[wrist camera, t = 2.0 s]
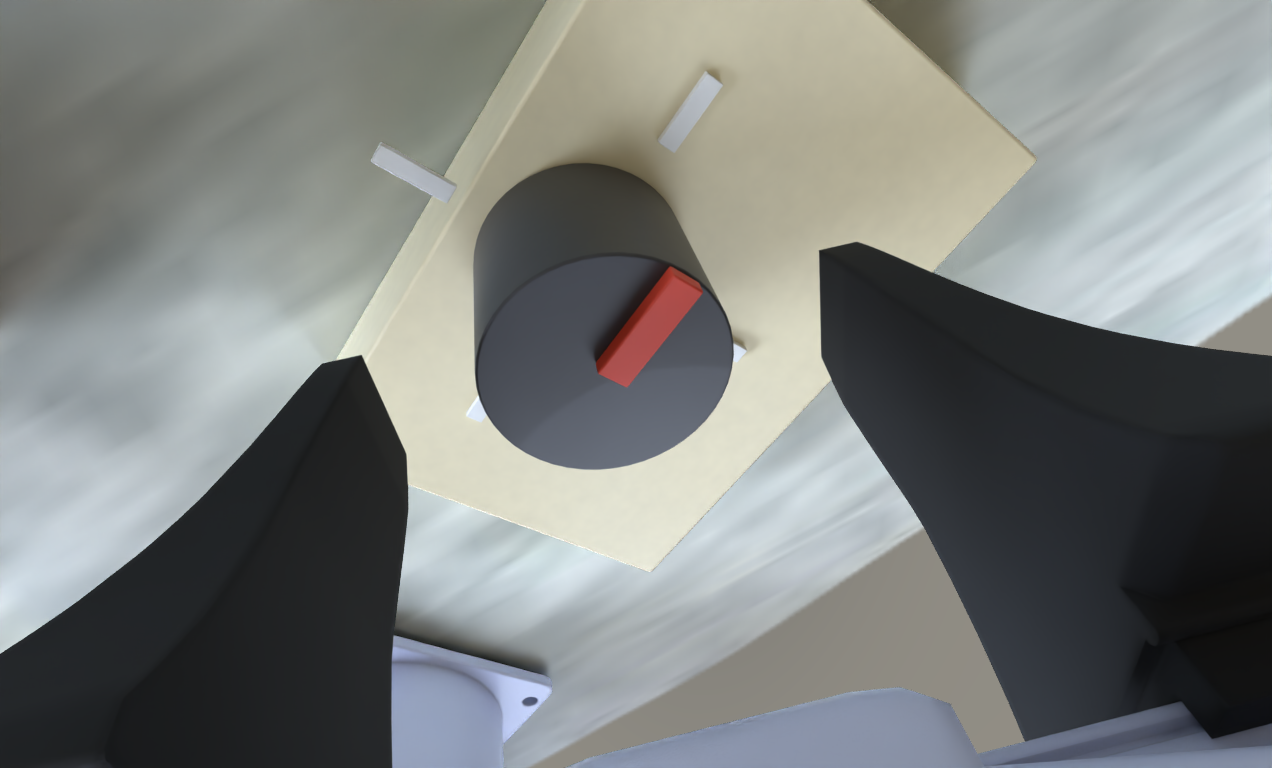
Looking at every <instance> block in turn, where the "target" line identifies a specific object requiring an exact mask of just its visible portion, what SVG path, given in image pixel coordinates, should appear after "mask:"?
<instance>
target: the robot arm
mask: <svg viewBox="0 0 1272 768" xmlns="http://www.w3.org/2000/svg"><path fill="white" fill-rule="evenodd" d="M819 276H820V325H821V357H822V360H823V362H824V364H825V366H826V369H827V371H828V373H829V375H830V377H831V380H832V382H833V384H834V386H835V388H836V390H837V392H838V394H839V396H840V398H841V400H842V402H843V404H844V406H845V408H846V409H847V411H848V412H849V414H850V416H851V417H852V419H853V420H854V422H855V423H856V425H857V426H858V428H859V429H860V431H861V432H862V434H863V435H864V437H865V438H866V440H867V441H868V443H869V444H870V446H871V447H872V449H873V450H874V452H875V453H876V455H877V456H878V458H879V459H880V461H881V462H882V464H883V465H884V467H885V468H886V470H887V471H888V473H889V474H890V476H891V477H892V479H893V480H894V481H895V483H896V484H897V486H898V487H899V489H900V490H901V492H902V493H903V495H904V496H905V498H906V499H907V501H908V502H909V504H910V505H911V507H912V508H913V510H914V512H915V513H916V515H917V517H918V518H919V520H920V522H921V523H922V525H923V527H924V528H925V530H926V532H927V534H928V536H929V538H930V540H931V542H932V544H933V545H934V547H935V549H936V551H937V553H938V555H939V557H940V559H941V561H942V563H943V565H944V567H945V569H946V571H947V573H948V575H949V577H950V578H951V580H952V582H953V584H954V587H955V589H956V591H957V593H958V595H959V597H960V599H961V601H962V603H963V605H964V607H965V609H966V611H967V613H968V615H969V617H970V619H971V621H972V623H973V625H974V628H975V630H976V632H977V634H978V636H979V638H980V640H981V642H982V645H983V647H984V649H985V651H986V653H987V656H988V658H989V660H990V662H991V665H992V667H993V669H994V671H995V673H996V676H997V678H998V680H999V682H1000V684H1001V686H1002V688H1003V691H1004V693H1005V695H1006V697H1007V700H1008V702H1009V704H1010V707H1011V709H1012V711H1013V714H1014V716H1015V719H1016V721H1017V723H1018V726H1019V728H1020V730H1021V733H1022V735H1023V738H1024V740H1025V742H1022V743H1018V744H1014V745H1010V746H1006V747H1003V748H998V749H995V750H991V751H987V752H983V753H979V754H977V752H976V750H975V749H974V747H973V745H972V743H971V741H970V739H969V737H968V736H967V734H966V732H965V730H964V728H963V726H962V725H961V723H960V721H959V719H958V717H957V715H956V713H955V711H954V710H953V708H952V706H951V704H949V703H947V702H943V701H940V700H938V699H935V698H932V697H929V696H926V695H923V694H920V693H917V692H914V691H911V690H908V689H904V688H901V687H895V688H885V689H876V690H865V691H856V692H847V693H843V694H839V695H835V696H831V697H827V698H823V699H819V700H815V701H811V702H807V703H803V704H799V705H796V706H792V707H787V708H783V709H780V710H776V711H772V712H768V713H764V714H760V715H756V716H752V717H748V718H744V719H740V720H736V721H732V722H729V723H724V724H720V725H717V726H712V727H708V728H705V729H700V730H697V731H693V732H689V733H685V734H681V735H677V736H673V737H669V738H665V739H661V740H657V741H653V742H649V743H645V744H641V745H638V746H633V747H629V748H626V749H621V750H617V751H614V752H610V753H606V754H602V755H598V756H594V757H590V758H587V759H585V760H582V761H580V762H577V763H575V764H572V765H570V766H568V767H565V768H1272V356H1267V355H1258V354H1249V353H1241V352H1233V351H1224V350H1216V349H1208V348H1201V347H1194V346H1188V345H1181V344H1175V343H1169V342H1163V341H1158V340H1153V339H1148V338H1142V337H1137V336H1132V335H1127V334H1121V333H1117V332H1112V331H1108V330H1104V329H1099V328H1095V327H1091V326H1087V325H1083V324H1080V323H1076V322H1072V321H1068V320H1065V319H1061V318H1057V317H1054V316H1050V315H1046V314H1043V313H1040V312H1037V311H1033V310H1030V309H1027V308H1024V307H1021V306H1018V305H1015V304H1013V303H1010V302H1007V301H1004V300H1001V299H998V298H995V297H993V296H990V295H987V294H984V293H982V292H979V291H977V290H974V289H971V288H969V287H966V286H964V285H961V284H959V283H956V282H954V281H951V280H949V279H947V278H944V277H942V276H939V275H937V274H935V273H932V272H930V271H928V270H925V269H923V268H921V267H918V266H916V265H914V264H912V263H909V262H907V261H905V260H902V259H900V258H898V257H895V256H893V255H891V254H888V253H886V252H884V251H881V250H879V249H876V248H874V247H871V246H869V245H866V244H863V243H860V242H853V243H849V244H844V245H840V246H835V247H831V248H827V249H822V250H819ZM407 517H408V475H407V454H406V452H405V449H404V447H403V445H402V443H401V440H400V438H399V436H398V434H397V432H396V429H395V427H394V425H393V423H392V421H391V418H390V416H389V414H388V412H387V410H386V407H385V405H384V403H383V401H382V399H381V396H380V394H379V392H378V390H377V388H376V385H375V383H374V381H373V379H372V376H371V374H370V372H369V370H368V368H367V365H366V363H365V361H364V359H363V357H362V355H358V356H354V357H349V358H345V359H341V360H336V361H332V362H327V363H323V364H321V365H320V366H319V367H318V368H317V369H316V370H315V371H314V372H313V373H312V374H311V376H310V377H309V378H308V379H307V380H306V381H305V382H304V384H303V385H302V386H301V387H300V388H299V389H298V391H297V392H296V393H295V394H294V395H293V396H292V398H291V399H290V400H289V401H288V402H287V404H286V405H285V406H284V407H283V408H282V410H281V411H280V412H279V413H278V414H277V415H276V417H275V418H274V419H273V420H272V421H271V422H270V424H269V425H268V426H267V427H266V428H265V429H264V431H263V432H262V433H261V434H260V435H259V436H258V438H257V439H256V440H255V441H254V442H253V443H252V445H251V446H250V447H249V448H248V449H247V450H246V451H245V452H244V453H243V454H242V455H241V456H240V458H239V459H238V460H237V461H236V462H235V463H234V464H233V465H232V466H231V467H230V468H229V469H228V470H227V471H226V472H225V473H224V475H223V476H222V477H221V478H220V479H219V480H218V481H217V482H216V483H215V484H214V485H213V486H212V487H211V488H210V489H209V490H208V492H207V493H206V494H205V495H204V496H203V497H202V498H201V499H200V500H199V501H198V502H196V503H195V504H194V505H193V506H192V507H191V508H190V509H189V510H188V511H187V512H186V513H185V514H184V515H183V516H182V517H181V518H180V519H179V520H177V521H176V522H175V523H174V524H173V525H172V526H171V527H170V528H168V529H167V530H166V531H165V532H164V533H163V534H162V535H160V536H159V537H158V538H157V539H156V540H155V541H154V542H153V543H151V544H150V545H149V546H148V547H147V548H146V549H144V550H143V551H142V552H141V553H140V554H138V555H137V556H136V557H135V558H133V559H132V560H131V561H129V562H128V563H127V564H126V565H124V566H123V567H122V568H120V569H119V570H118V571H116V572H115V573H114V574H113V575H111V576H110V577H109V578H107V579H106V580H105V581H104V582H102V583H101V584H100V585H98V586H97V587H96V588H94V589H93V590H92V591H91V592H89V593H88V594H87V595H85V596H84V597H83V598H82V599H80V600H79V601H78V602H76V603H75V604H73V605H72V606H71V607H69V608H68V609H66V610H65V611H63V612H62V613H61V614H59V615H58V616H56V617H55V618H53V619H52V620H50V621H49V622H48V623H46V624H45V625H43V626H42V627H40V628H39V629H37V630H36V631H34V632H33V633H31V634H30V635H28V636H27V637H25V638H24V639H22V640H21V641H19V642H18V643H16V644H15V645H13V646H12V647H10V648H8V649H7V650H5V651H4V652H2V653H1V654H0V768H504V756H503V744H504V743H505V742H506V741H507V740H508V739H509V738H510V737H511V736H512V735H513V734H514V733H515V732H516V731H517V729H518V728H519V727H520V726H521V725H522V724H523V723H524V722H525V721H526V720H527V719H528V718H529V717H530V716H531V715H532V714H533V713H534V712H535V711H536V709H537V708H538V707H539V706H540V705H541V704H542V703H543V702H544V701H545V700H546V699H547V698H548V697H549V696H550V695H551V693H552V681H551V679H550V678H549V677H547V676H545V675H541V674H538V673H534V672H530V671H526V670H523V669H519V668H515V667H511V666H508V665H504V664H500V663H496V662H493V661H489V660H485V659H481V658H478V657H474V656H470V655H466V654H463V653H459V652H455V651H451V650H448V649H444V648H440V647H436V646H433V645H429V644H425V643H421V642H418V641H414V640H410V639H406V638H403V637H399V636H395V635H394V627H395V619H396V610H397V602H398V594H399V586H400V578H401V569H402V561H403V553H404V544H405V535H406V527H407Z"/></svg>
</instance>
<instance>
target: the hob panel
mask: <svg viewBox="0 0 1272 768" xmlns="http://www.w3.org/2000/svg"><path fill="white" fill-rule="evenodd" d="M1036 161H1037V158H1036V155H1034V154H1033V153H1032V152H1031V151H1030V150H1029V149H1028V148H1027V147H1026V146H1025V145H1024V144H1023V143H1021V142H1020V141H1019V140H1018V139H1017V138H1016V137H1015V136H1014V135H1013V134H1012V133H1011V132H1009V131H1008V130H1007V129H1006V128H1005V127H1004V126H1003V125H1002V124H1001V123H1000V122H999V121H998V120H996V119H995V118H994V117H993V116H992V115H991V114H990V113H989V112H988V111H987V110H986V109H985V108H983V107H982V106H981V105H980V104H979V103H978V102H977V101H976V100H975V99H974V98H973V97H971V96H970V95H969V94H968V93H967V92H966V91H965V90H964V89H963V88H962V87H961V86H960V85H958V84H957V83H956V82H955V81H954V80H953V79H952V78H951V77H950V76H949V75H948V74H947V73H945V72H944V71H943V70H942V69H941V68H940V67H939V66H938V65H937V64H936V63H935V62H933V61H932V60H931V59H930V58H929V57H928V56H927V55H926V54H925V53H924V52H923V51H922V50H920V49H919V48H918V47H917V46H916V45H915V44H914V43H913V42H912V41H911V40H910V39H909V38H907V37H906V36H905V35H904V34H903V33H902V32H901V31H900V30H899V29H898V28H897V27H896V26H894V25H893V24H892V23H891V22H890V21H889V20H888V19H887V18H886V17H885V16H884V15H882V14H881V13H880V12H879V11H878V10H877V9H876V8H875V7H874V6H873V5H872V4H871V3H869V2H868V1H867V0H547V1H546V3H545V4H544V6H543V8H542V9H541V11H540V13H539V15H538V16H537V18H536V20H535V21H534V23H533V25H532V26H531V28H530V30H529V32H528V33H527V35H526V37H525V38H524V40H523V42H522V44H521V45H520V47H519V49H518V50H517V52H516V54H515V55H514V57H513V59H512V61H511V62H510V64H509V66H508V67H507V69H506V71H505V72H504V74H503V76H502V78H501V79H500V81H499V83H498V84H497V86H496V88H495V90H494V91H493V93H492V95H491V96H490V98H489V100H488V101H487V103H486V105H485V107H484V108H483V110H482V112H481V113H480V115H479V117H478V118H477V120H476V122H475V124H474V125H473V127H472V129H471V130H470V132H469V134H468V136H467V137H466V139H465V141H464V142H463V144H462V146H461V147H460V149H459V151H458V153H457V154H456V156H455V158H454V159H453V161H452V163H451V164H450V166H449V168H448V170H447V171H446V173H445V175H444V176H442V175H440V174H438V173H436V172H434V171H433V170H431V169H429V168H427V167H426V166H424V165H422V164H420V163H418V162H417V161H415V160H413V159H411V158H410V157H408V156H406V155H404V154H403V153H401V152H399V151H397V150H395V149H394V148H392V147H390V146H388V145H387V144H385V143H383V142H380V144H379V145H378V147H377V149H376V151H375V153H374V155H373V157H372V159H371V162H372V163H374V164H375V165H377V166H379V167H381V168H383V169H384V170H386V171H388V172H390V173H392V174H394V175H395V176H397V177H399V178H401V179H403V180H405V181H406V182H408V183H410V184H412V185H414V186H415V187H417V188H419V189H421V190H423V191H425V192H426V193H428V194H430V195H432V197H431V199H430V200H429V202H428V204H427V205H426V207H425V209H424V211H423V212H422V214H421V216H420V217H419V219H418V221H417V222H416V224H415V226H414V228H413V229H412V231H411V233H410V234H409V236H408V238H407V239H406V241H405V243H404V245H403V246H402V248H401V250H400V251H399V253H398V255H397V257H396V258H395V260H394V262H393V263H392V265H391V267H390V268H389V270H388V272H387V274H386V275H385V277H384V279H383V280H382V282H381V284H380V285H379V287H378V289H377V291H376V292H375V294H374V296H373V297H372V299H371V301H370V303H369V304H368V306H367V308H366V309H365V311H364V313H363V314H362V316H361V318H360V320H359V321H358V323H357V325H356V326H355V328H354V330H353V331H352V333H351V335H350V337H349V338H348V340H347V342H346V343H345V345H344V347H343V349H342V350H341V352H340V354H339V355H338V357H337V359H336V360H341V359H345V358H349V357H354V356H358V355H362V357H363V359H364V361H365V363H366V365H367V368H368V370H369V372H370V374H371V376H372V379H373V381H374V383H375V385H376V388H377V390H378V392H379V394H380V396H381V399H382V401H383V403H384V405H385V407H386V410H387V412H388V414H389V416H390V418H391V421H392V423H393V425H394V427H395V429H396V432H397V434H398V436H399V438H400V440H401V443H402V445H403V447H404V449H405V452H406V454H407V475H408V485H410V486H413V487H416V488H419V489H421V490H424V491H427V492H430V493H432V494H435V495H438V496H441V497H443V498H446V499H449V500H452V501H454V502H457V503H460V504H463V505H466V506H468V507H471V508H474V509H477V510H479V511H482V512H485V513H488V514H490V515H493V516H496V517H499V518H501V519H504V520H507V521H510V522H513V523H515V524H518V525H521V526H524V527H526V528H529V529H532V530H535V531H537V532H540V533H543V534H546V535H548V536H551V537H554V538H557V539H560V540H562V541H565V542H568V543H571V544H573V545H576V546H579V547H582V548H584V549H587V550H590V551H593V552H596V553H598V554H601V555H604V556H607V557H609V558H612V559H615V560H618V561H620V562H623V563H626V564H629V565H631V566H634V567H637V568H640V569H643V570H645V571H648V572H651V571H653V570H654V569H655V568H656V567H657V566H658V564H659V563H660V562H661V561H662V560H663V559H664V558H665V557H666V556H667V555H668V554H669V553H670V552H671V551H672V550H673V548H674V547H675V546H676V545H677V544H678V543H679V542H680V541H681V540H682V539H683V538H684V537H685V536H686V535H687V534H688V532H689V531H690V530H691V529H692V528H693V527H694V526H695V525H696V524H697V523H698V522H699V521H700V520H701V519H702V518H703V516H704V515H705V514H706V513H707V512H708V511H709V510H710V509H711V508H712V507H713V506H714V505H715V504H716V503H717V502H718V500H719V499H720V498H721V497H722V496H723V495H724V494H725V493H726V492H727V491H728V490H729V489H730V488H731V487H732V486H733V484H734V483H735V482H736V481H737V480H738V479H739V478H740V477H741V476H742V475H743V474H744V473H745V472H746V471H747V470H748V468H749V467H750V466H751V465H752V464H753V463H754V462H755V461H756V460H757V459H758V458H759V457H760V456H761V455H762V454H763V452H764V451H765V450H766V449H767V448H768V447H769V446H770V445H771V444H772V443H773V442H774V441H775V440H776V439H777V438H778V436H779V435H780V434H781V433H782V432H783V431H784V430H785V429H786V428H787V427H788V426H789V425H790V424H791V423H792V422H793V420H794V419H795V418H796V417H797V416H798V415H799V414H800V413H801V412H802V411H803V410H804V409H805V408H806V407H807V406H808V404H809V403H810V402H811V401H812V400H813V399H814V398H815V397H816V396H817V395H818V394H819V393H820V392H821V391H822V390H823V389H824V387H825V386H826V385H827V384H828V383H829V382H830V381H831V377H830V375H829V373H828V371H827V369H826V366H825V364H824V362H823V360H822V357H821V325H820V276H819V250H822V249H827V248H831V247H835V246H840V245H844V244H849V243H853V242H860V243H863V244H866V245H869V246H871V247H874V248H876V249H879V250H881V251H884V252H886V253H888V254H891V255H893V256H895V257H898V258H900V259H902V260H905V261H907V262H909V263H912V264H914V265H916V266H918V267H921V268H923V269H925V270H928V271H930V272H933V271H934V270H935V269H936V268H937V267H938V266H939V265H940V264H941V263H942V262H943V261H944V259H945V258H946V257H947V256H948V255H949V254H950V253H951V252H952V251H953V250H954V249H955V248H956V247H957V246H958V245H959V243H960V242H961V241H962V240H963V239H964V238H965V237H966V236H967V235H968V234H969V233H970V232H971V231H972V230H973V229H974V227H975V226H976V225H977V224H978V223H979V222H980V221H981V220H982V219H983V218H984V217H985V216H986V215H987V214H988V213H989V211H990V210H991V209H992V208H993V207H994V206H995V205H996V204H997V203H998V202H999V201H1000V200H1001V199H1002V198H1003V197H1004V195H1005V194H1006V193H1007V192H1008V191H1009V190H1010V189H1011V188H1012V187H1013V186H1014V185H1015V184H1016V183H1017V182H1018V181H1019V180H1020V178H1021V177H1022V176H1023V175H1024V174H1025V173H1026V172H1027V171H1028V170H1029V169H1030V168H1031V167H1032V166H1033V165H1034V164H1035V162H1036ZM573 163H592V164H602V165H607V166H611V167H615V168H619V169H621V170H624V171H626V172H629V173H631V174H633V175H635V176H637V177H638V178H640V179H642V180H644V181H645V182H646V183H648V184H649V185H650V186H652V187H653V188H654V189H655V190H656V191H657V192H658V193H659V194H660V195H661V196H662V197H663V198H664V199H665V201H666V202H667V203H668V205H669V206H670V207H671V209H672V211H673V212H674V214H675V216H676V218H677V220H678V222H679V224H680V226H681V228H682V229H683V231H684V233H685V235H686V237H687V239H688V241H689V243H690V245H691V247H692V249H693V251H694V253H695V255H696V257H697V258H698V260H699V262H700V264H701V266H702V268H703V270H704V272H705V274H706V276H707V278H708V280H709V282H710V284H711V286H712V287H713V289H714V291H715V293H716V295H717V297H718V299H719V301H720V303H721V305H722V307H723V309H724V311H725V313H726V315H727V318H728V320H729V323H730V326H731V330H732V336H733V342H734V357H733V365H732V371H731V375H730V378H729V382H728V385H727V387H726V389H725V392H724V394H723V396H722V398H721V400H720V401H719V403H718V405H717V406H716V408H715V409H714V411H713V412H712V413H711V415H710V416H709V417H708V418H707V420H706V421H705V422H704V423H703V424H702V425H701V426H700V427H699V428H698V429H697V430H696V431H695V432H694V433H692V434H691V435H690V436H689V437H687V438H686V439H685V440H684V441H682V442H681V443H679V444H678V445H676V446H675V447H673V448H671V449H670V450H668V451H666V452H664V453H662V454H660V455H658V456H655V457H653V458H650V459H648V460H645V461H643V462H639V463H636V464H632V465H629V466H624V467H618V468H612V469H601V470H583V469H574V468H567V467H562V466H558V465H553V464H550V463H548V462H545V461H542V460H539V459H537V458H535V457H533V456H531V455H529V454H527V453H525V452H523V451H522V450H520V449H519V448H517V447H516V446H514V445H513V444H512V443H511V442H509V441H508V440H507V439H506V438H505V437H504V436H503V435H502V434H501V433H500V432H499V431H498V430H497V429H496V427H495V426H494V425H493V424H492V422H491V421H490V419H489V418H488V416H487V415H486V413H485V411H484V409H483V406H482V404H481V402H480V399H479V396H478V392H477V388H476V381H475V362H474V284H473V261H474V250H475V245H476V240H477V237H478V234H479V231H480V229H481V226H482V224H483V222H484V220H485V219H486V217H487V215H488V213H489V212H490V211H491V209H492V208H493V206H494V205H495V204H496V203H497V201H498V200H499V199H500V198H501V197H502V196H503V195H504V194H505V193H506V192H507V191H509V190H510V189H511V188H513V187H514V186H515V185H516V184H518V183H519V182H521V181H523V180H524V179H526V178H528V177H529V176H531V175H534V174H536V173H538V172H540V171H543V170H546V169H549V168H553V167H556V166H560V165H567V164H573ZM336 360H335V361H336Z"/></svg>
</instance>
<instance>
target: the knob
mask: <svg viewBox="0 0 1272 768" xmlns="http://www.w3.org/2000/svg"><path fill="white" fill-rule="evenodd" d="M473 284H474V362H475V381H476V388H477V392H478V396H479V399H480V402H481V404H482V406H483V409H484V411H485V413H486V415H487V416H488V418H489V419H490V421H491V422H492V424H493V425H494V426H495V427H496V429H497V430H498V431H499V432H500V433H501V434H502V435H503V436H504V437H505V438H506V439H507V440H508V441H509V442H511V443H512V444H513V445H514V446H516V447H517V448H519V449H520V450H522V451H523V452H525V453H527V454H529V455H531V456H533V457H535V458H537V459H539V460H542V461H545V462H548V463H550V464H553V465H558V466H562V467H567V468H574V469H583V470H601V469H612V468H618V467H624V466H629V465H632V464H636V463H639V462H643V461H645V460H648V459H650V458H653V457H655V456H658V455H660V454H662V453H664V452H666V451H668V450H670V449H671V448H673V447H675V446H676V445H678V444H679V443H681V442H682V441H684V440H685V439H686V438H687V437H689V436H690V435H691V434H692V433H694V432H695V431H696V430H697V429H698V428H699V427H700V426H701V425H702V424H703V423H704V422H705V421H706V420H707V418H708V417H709V416H710V415H711V413H712V412H713V411H714V409H715V408H716V406H717V405H718V403H719V401H720V400H721V398H722V396H723V394H724V392H725V389H726V387H727V385H728V382H729V378H730V375H731V371H732V365H733V357H734V342H733V336H732V330H731V326H730V323H729V320H728V318H727V315H726V313H725V311H724V309H723V307H722V305H721V303H720V301H719V299H718V297H717V295H716V293H715V291H714V289H713V287H712V286H711V284H710V282H709V280H708V278H707V276H706V274H705V272H704V270H703V268H702V266H701V264H700V262H699V260H698V258H697V257H696V255H695V253H694V251H693V249H692V247H691V245H690V243H689V241H688V239H687V237H686V235H685V233H684V231H683V229H682V228H681V226H680V224H679V222H678V220H677V218H676V216H675V214H674V212H673V211H672V209H671V207H670V206H669V205H668V203H667V202H666V201H665V199H664V198H663V197H662V196H661V195H660V194H659V193H658V192H657V191H656V190H655V189H654V188H653V187H652V186H650V185H649V184H648V183H646V182H645V181H644V180H642V179H640V178H638V177H637V176H635V175H633V174H631V173H629V172H626V171H624V170H621V169H619V168H615V167H611V166H607V165H602V164H592V163H573V164H567V165H560V166H556V167H553V168H549V169H546V170H543V171H540V172H538V173H536V174H534V175H531V176H529V177H528V178H526V179H524V180H523V181H521V182H519V183H518V184H516V185H515V186H514V187H513V188H511V189H510V190H509V191H507V192H506V193H505V194H504V195H503V196H502V197H501V198H500V199H499V200H498V201H497V203H496V204H495V205H494V206H493V208H492V209H491V211H490V212H489V213H488V215H487V217H486V219H485V220H484V222H483V224H482V226H481V229H480V231H479V234H478V237H477V240H476V245H475V250H474V261H473Z"/></svg>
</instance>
